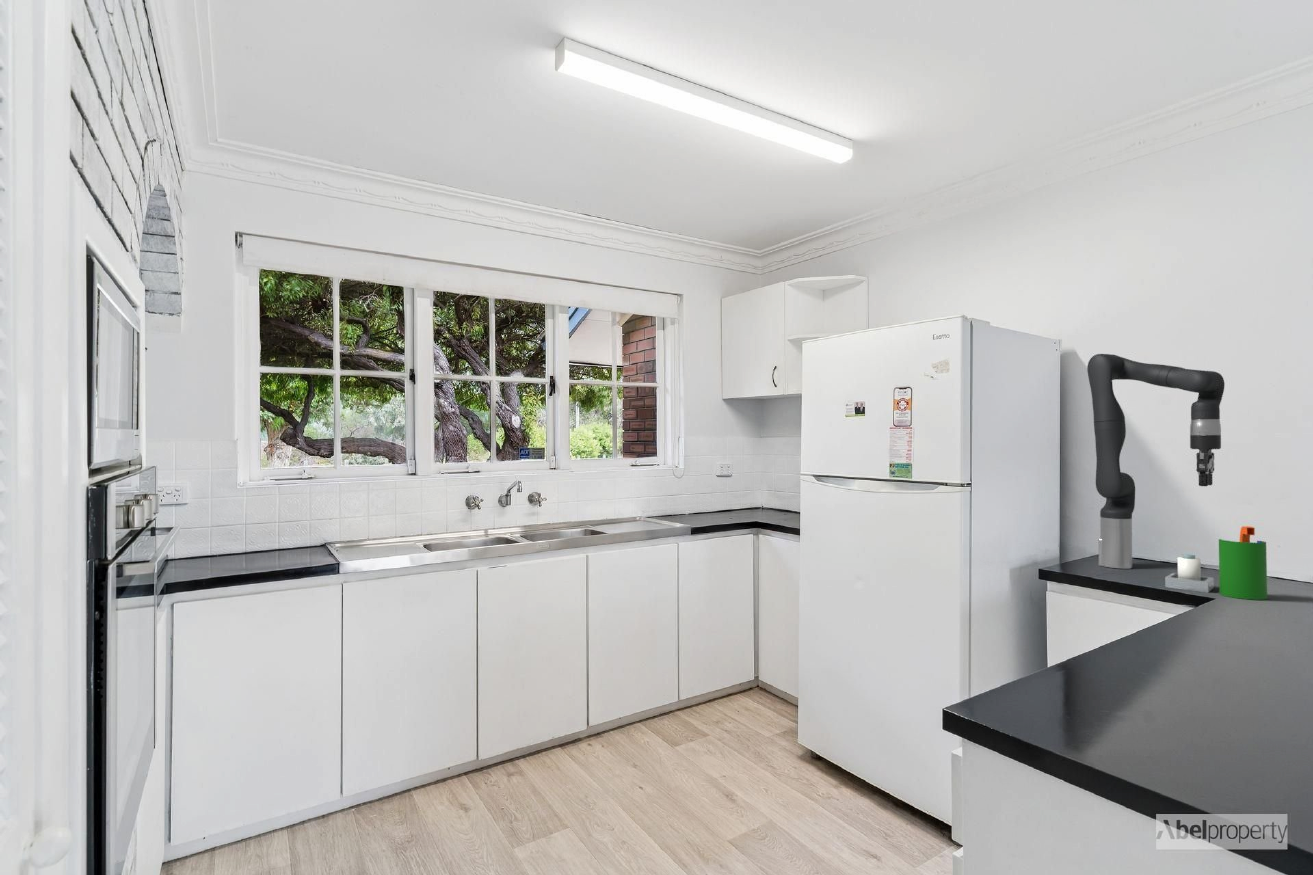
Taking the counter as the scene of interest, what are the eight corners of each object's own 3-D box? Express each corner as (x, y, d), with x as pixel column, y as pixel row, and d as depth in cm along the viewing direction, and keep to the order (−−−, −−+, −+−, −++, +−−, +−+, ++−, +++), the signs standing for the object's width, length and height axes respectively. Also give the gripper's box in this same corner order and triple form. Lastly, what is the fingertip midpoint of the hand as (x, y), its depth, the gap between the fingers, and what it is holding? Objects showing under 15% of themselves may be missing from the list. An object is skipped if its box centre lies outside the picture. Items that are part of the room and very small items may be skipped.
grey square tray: (1165, 587, 201) (1165, 577, 201) (1172, 582, 208) (1171, 572, 208) (1208, 592, 194) (1208, 582, 194) (1213, 587, 200) (1213, 577, 201)
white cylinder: (1175, 584, 201) (1174, 554, 202) (1180, 582, 205) (1180, 553, 205) (1198, 587, 197) (1197, 556, 197) (1203, 585, 200) (1202, 555, 201)
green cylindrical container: (1251, 593, 193) (1251, 524, 193) (1277, 600, 184) (1276, 527, 184) (1213, 592, 194) (1213, 523, 194) (1237, 599, 185) (1236, 527, 185)
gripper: (1194, 434, 218) (1194, 484, 218) (1186, 433, 208) (1186, 486, 208) (1224, 434, 212) (1224, 485, 212) (1217, 433, 203) (1217, 487, 202)
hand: (1205, 485), depth 210 cm, fingers open, 8 cm apart
